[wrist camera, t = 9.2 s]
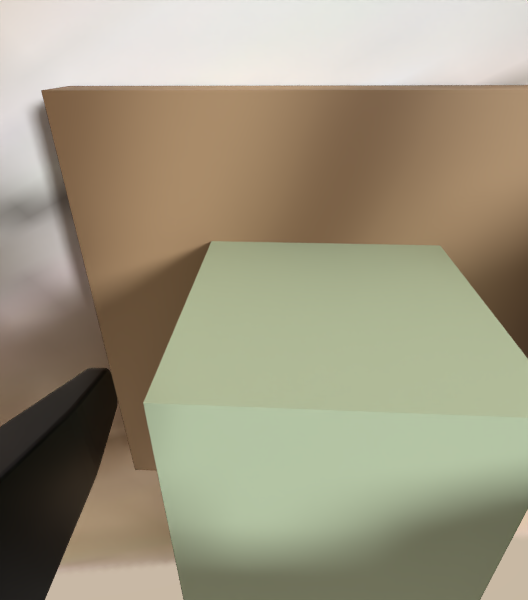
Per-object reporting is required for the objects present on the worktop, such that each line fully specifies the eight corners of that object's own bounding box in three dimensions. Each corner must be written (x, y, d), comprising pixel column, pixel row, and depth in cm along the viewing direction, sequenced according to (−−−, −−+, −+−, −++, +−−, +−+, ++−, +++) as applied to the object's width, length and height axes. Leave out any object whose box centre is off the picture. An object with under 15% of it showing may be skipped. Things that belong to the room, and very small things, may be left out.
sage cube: (440, 245, 9) (574, 420, 5) (402, 412, 12) (467, 624, 7) (211, 241, 9) (143, 403, 5) (223, 405, 12) (185, 605, 8)
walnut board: (603, 85, 8) (647, 90, 7) (469, 453, 14) (483, 485, 13) (69, 86, 9) (41, 90, 8) (146, 439, 15) (135, 469, 14)
